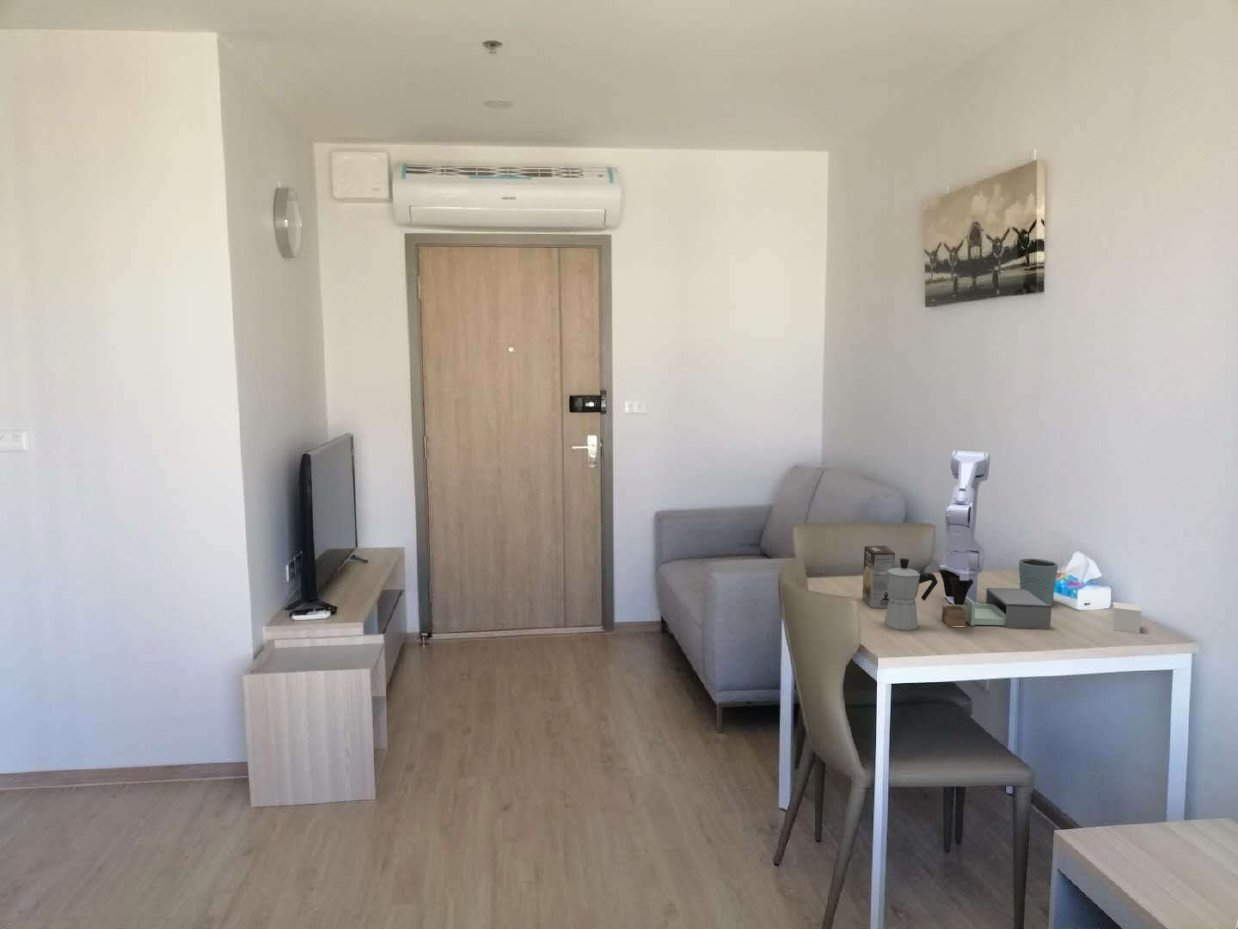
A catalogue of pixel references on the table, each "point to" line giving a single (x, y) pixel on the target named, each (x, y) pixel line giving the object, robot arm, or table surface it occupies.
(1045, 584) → the green plant pot
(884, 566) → the coffee box
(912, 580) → the coffee maker
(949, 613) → the walnut block
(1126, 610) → the beige cube
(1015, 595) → the grey drawer box
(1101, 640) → the table surface
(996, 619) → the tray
